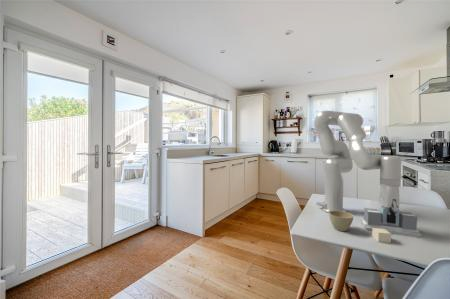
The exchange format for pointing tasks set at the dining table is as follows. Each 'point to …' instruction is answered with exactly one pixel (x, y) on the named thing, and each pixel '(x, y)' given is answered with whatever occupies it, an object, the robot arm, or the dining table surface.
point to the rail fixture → (404, 228)
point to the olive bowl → (341, 220)
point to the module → (384, 215)
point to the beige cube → (381, 235)
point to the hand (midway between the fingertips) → (388, 220)
